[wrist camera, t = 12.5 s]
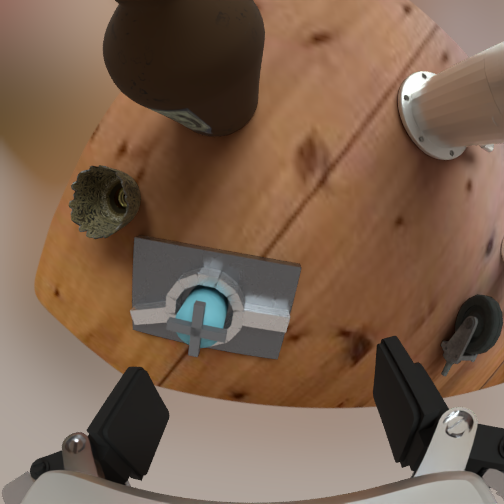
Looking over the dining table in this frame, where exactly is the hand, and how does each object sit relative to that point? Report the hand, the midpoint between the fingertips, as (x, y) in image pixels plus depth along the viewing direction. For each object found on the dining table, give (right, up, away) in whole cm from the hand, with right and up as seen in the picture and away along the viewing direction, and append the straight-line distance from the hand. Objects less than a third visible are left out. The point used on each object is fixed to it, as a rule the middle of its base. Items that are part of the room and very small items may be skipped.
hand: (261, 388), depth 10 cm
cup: (-16, +12, +22) cm, 29 cm away
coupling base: (-6, -1, +24) cm, 25 cm away
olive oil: (-4, +23, +18) cm, 30 cm away
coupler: (-6, -1, +23) cm, 23 cm away
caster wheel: (+34, -8, +25) cm, 43 cm away
